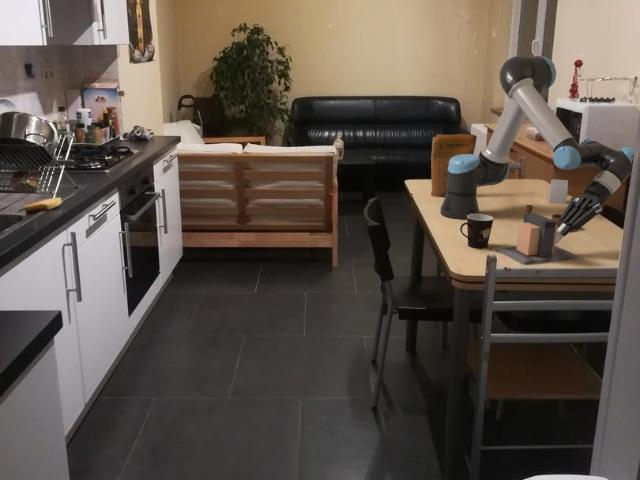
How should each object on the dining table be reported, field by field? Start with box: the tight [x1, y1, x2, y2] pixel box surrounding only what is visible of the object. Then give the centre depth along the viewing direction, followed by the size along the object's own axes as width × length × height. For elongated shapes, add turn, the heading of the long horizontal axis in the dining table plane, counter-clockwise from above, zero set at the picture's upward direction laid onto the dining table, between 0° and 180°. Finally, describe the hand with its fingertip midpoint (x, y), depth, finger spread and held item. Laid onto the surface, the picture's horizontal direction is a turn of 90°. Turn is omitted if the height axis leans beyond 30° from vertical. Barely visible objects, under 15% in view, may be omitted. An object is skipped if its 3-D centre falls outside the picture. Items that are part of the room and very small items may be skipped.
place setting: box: [525, 204, 585, 233], centre depth 239 cm, size 18×20×6 cm
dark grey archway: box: [523, 212, 556, 258], centre depth 202 cm, size 4×11×12 cm, turn 19°
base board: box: [497, 245, 579, 265], centre depth 204 cm, size 20×14×1 cm
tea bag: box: [547, 178, 569, 205], centre depth 274 cm, size 4×7×10 cm, turn 80°
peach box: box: [516, 222, 558, 255], centre depth 203 cm, size 10×6×9 cm, turn 109°
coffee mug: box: [459, 213, 495, 250], centre depth 211 cm, size 12×9×10 cm
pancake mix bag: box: [430, 133, 478, 198], centre depth 277 cm, size 7×19×28 cm, turn 85°
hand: (553, 241), depth 205 cm, fingers closed
